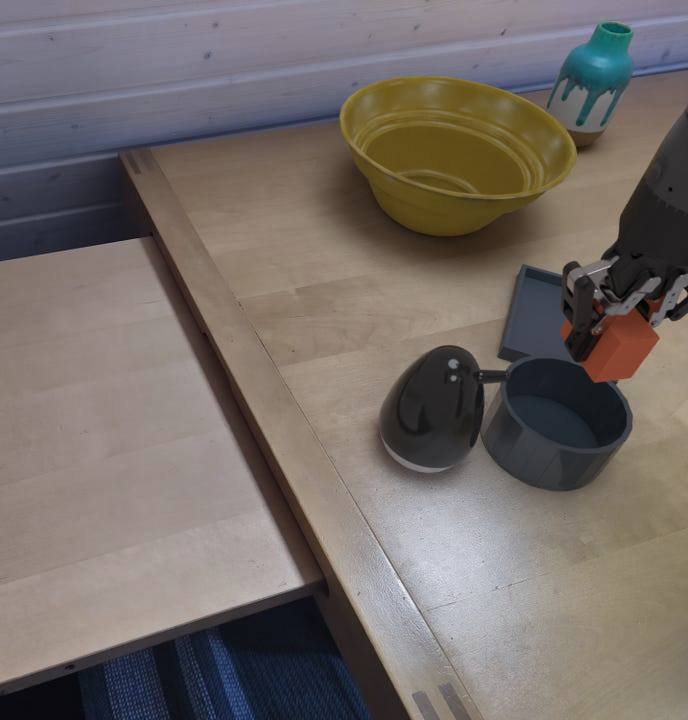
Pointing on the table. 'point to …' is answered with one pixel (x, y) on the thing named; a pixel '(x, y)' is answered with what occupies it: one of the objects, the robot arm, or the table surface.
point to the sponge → (618, 347)
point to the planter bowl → (453, 151)
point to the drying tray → (535, 317)
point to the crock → (554, 423)
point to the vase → (593, 82)
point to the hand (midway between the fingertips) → (596, 351)
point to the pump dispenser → (436, 409)
